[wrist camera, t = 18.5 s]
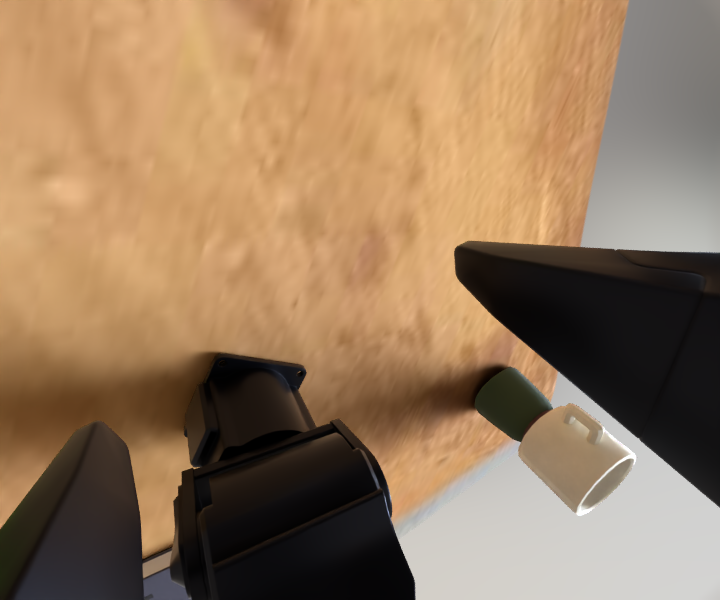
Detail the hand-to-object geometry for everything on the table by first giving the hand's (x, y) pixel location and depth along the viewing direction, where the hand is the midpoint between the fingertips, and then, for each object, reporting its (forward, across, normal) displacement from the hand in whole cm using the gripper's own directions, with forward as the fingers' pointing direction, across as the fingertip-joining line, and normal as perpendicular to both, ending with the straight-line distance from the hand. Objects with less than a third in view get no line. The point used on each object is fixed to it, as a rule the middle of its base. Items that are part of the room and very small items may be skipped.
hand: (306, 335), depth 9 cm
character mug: (+13, -18, +29) cm, 36 cm away
